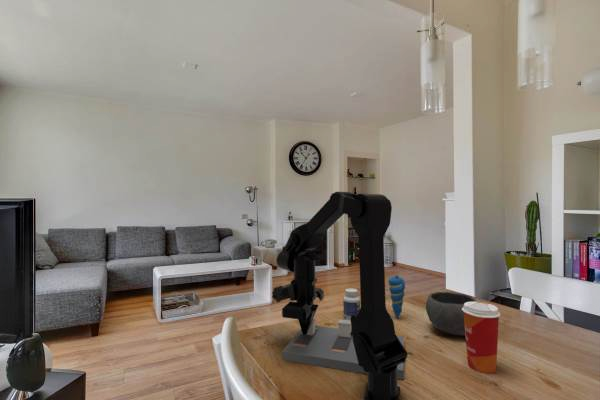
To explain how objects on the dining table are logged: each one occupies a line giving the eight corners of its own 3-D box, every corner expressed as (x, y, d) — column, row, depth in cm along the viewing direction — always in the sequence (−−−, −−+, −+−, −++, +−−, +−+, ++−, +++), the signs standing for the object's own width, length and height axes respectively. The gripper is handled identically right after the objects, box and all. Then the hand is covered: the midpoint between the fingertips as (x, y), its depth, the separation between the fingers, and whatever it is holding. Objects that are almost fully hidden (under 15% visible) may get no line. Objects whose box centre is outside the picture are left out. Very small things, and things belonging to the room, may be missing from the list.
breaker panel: (403, 380, 66) (403, 370, 66) (282, 359, 75) (282, 351, 75) (403, 343, 83) (403, 335, 83) (304, 331, 92) (304, 323, 92)
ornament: (387, 319, 100) (386, 273, 101) (390, 314, 105) (390, 270, 105) (404, 322, 98) (403, 275, 98) (406, 317, 103) (405, 271, 103)
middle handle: (350, 337, 82) (350, 324, 82) (338, 336, 83) (338, 322, 83) (352, 334, 84) (352, 320, 84) (340, 332, 85) (340, 319, 85)
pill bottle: (360, 323, 97) (359, 292, 97) (343, 322, 98) (342, 292, 98) (360, 317, 102) (360, 288, 102) (344, 316, 103) (343, 287, 104)
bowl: (490, 345, 82) (489, 307, 82) (429, 339, 86) (429, 303, 86) (474, 324, 96) (474, 292, 96) (423, 320, 100) (423, 289, 100)
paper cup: (466, 355, 76) (465, 298, 76) (503, 365, 71) (502, 305, 72) (459, 368, 70) (458, 307, 70) (499, 380, 65) (497, 314, 66)
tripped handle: (312, 335, 83) (312, 322, 83) (301, 334, 84) (301, 320, 84) (315, 331, 86) (315, 318, 86) (304, 330, 87) (303, 317, 87)
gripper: (288, 267, 94) (288, 318, 94) (262, 281, 76) (262, 345, 76) (323, 269, 90) (324, 322, 90) (305, 285, 73) (305, 351, 72)
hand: (304, 334), depth 82 cm, fingers closed
